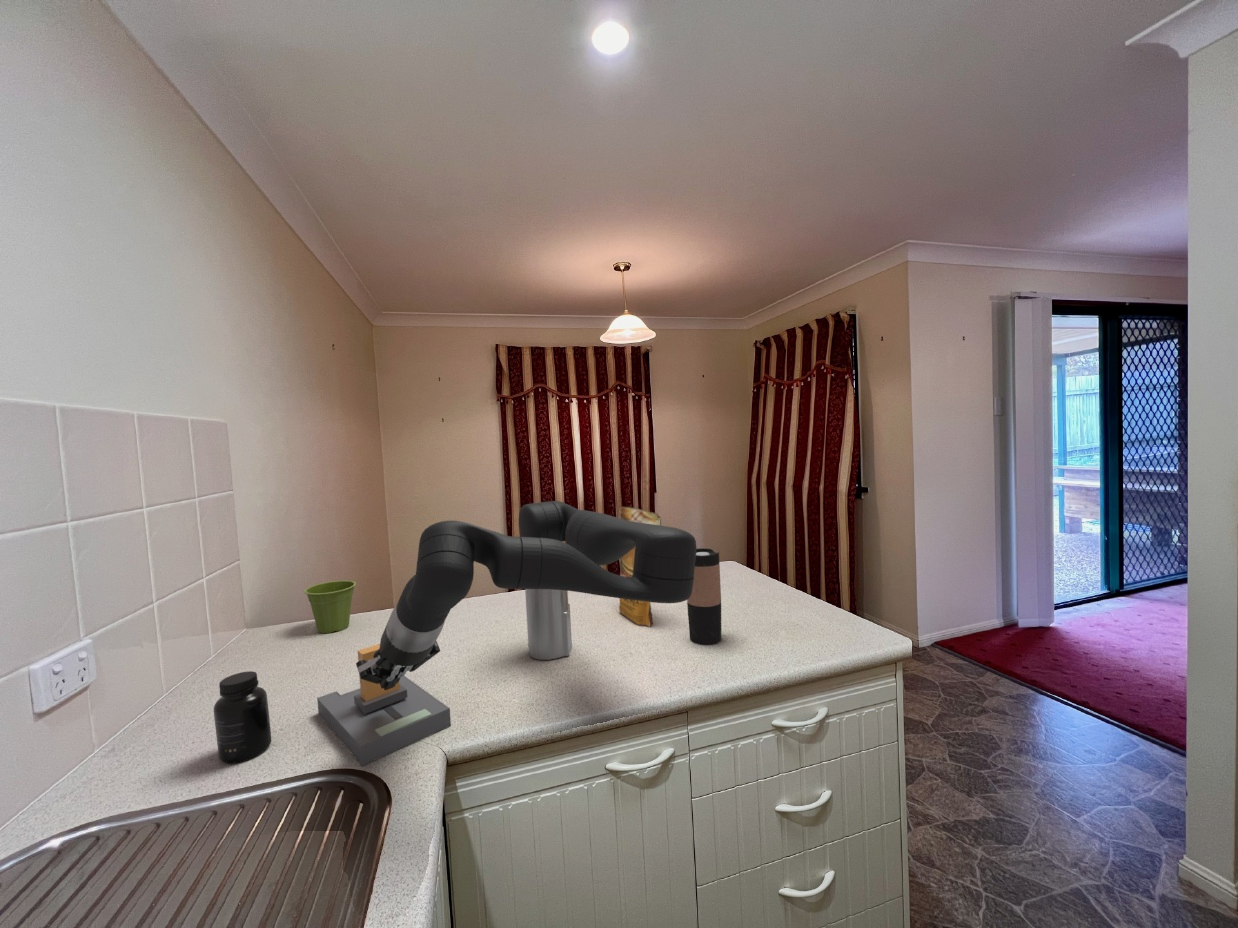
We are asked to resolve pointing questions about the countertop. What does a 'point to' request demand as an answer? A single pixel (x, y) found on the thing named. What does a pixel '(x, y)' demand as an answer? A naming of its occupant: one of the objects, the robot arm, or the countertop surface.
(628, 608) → the pancake mix bag
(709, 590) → the travel mug
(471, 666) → the countertop surface
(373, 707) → the handle
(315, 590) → the plant pot
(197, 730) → the countertop surface
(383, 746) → the switch console
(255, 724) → the supplement bottle
